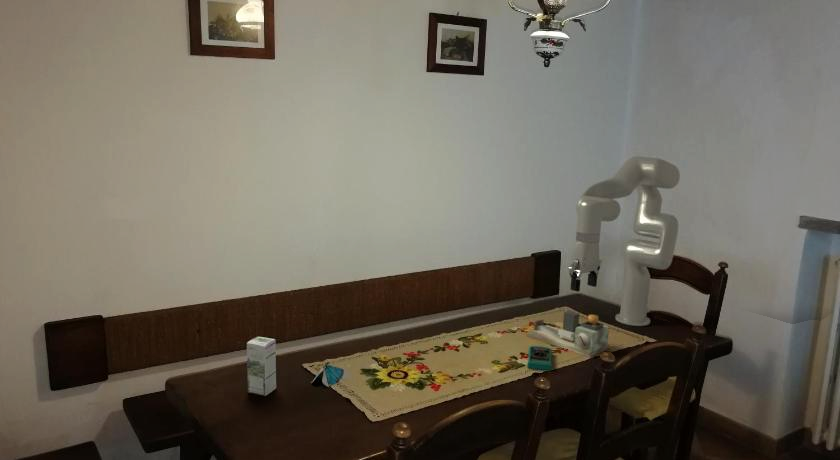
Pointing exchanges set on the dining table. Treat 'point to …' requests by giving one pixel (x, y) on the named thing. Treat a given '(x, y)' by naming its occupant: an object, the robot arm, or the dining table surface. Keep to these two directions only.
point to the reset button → (593, 319)
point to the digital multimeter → (540, 358)
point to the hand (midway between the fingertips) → (583, 288)
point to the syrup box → (261, 365)
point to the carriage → (569, 325)
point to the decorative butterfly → (332, 374)
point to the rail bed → (557, 341)
